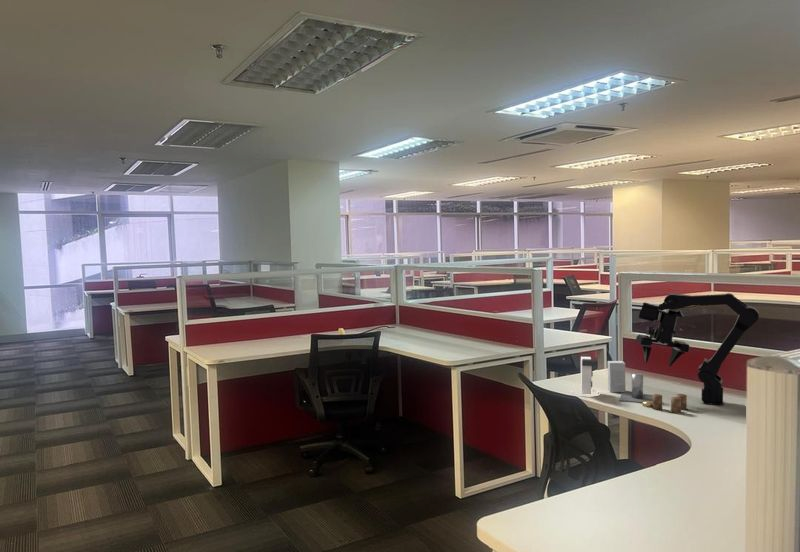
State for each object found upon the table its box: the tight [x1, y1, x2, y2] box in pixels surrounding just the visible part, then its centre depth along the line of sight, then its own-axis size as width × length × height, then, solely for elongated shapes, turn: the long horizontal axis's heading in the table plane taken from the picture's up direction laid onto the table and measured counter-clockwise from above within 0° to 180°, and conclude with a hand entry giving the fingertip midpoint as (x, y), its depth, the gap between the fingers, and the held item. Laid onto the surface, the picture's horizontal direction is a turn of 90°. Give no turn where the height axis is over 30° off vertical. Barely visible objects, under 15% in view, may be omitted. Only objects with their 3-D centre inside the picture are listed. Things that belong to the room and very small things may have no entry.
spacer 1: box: [652, 393, 663, 411], centre depth 208 cm, size 3×3×5 cm
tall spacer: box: [631, 372, 644, 399], centre depth 221 cm, size 4×4×9 cm
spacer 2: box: [670, 396, 682, 414], centre depth 203 cm, size 3×3×5 cm
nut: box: [642, 401, 653, 408], centre depth 212 cm, size 4×4×2 cm
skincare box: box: [607, 360, 626, 393], centre depth 233 cm, size 6×4×12 cm
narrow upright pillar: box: [570, 353, 601, 394], centre depth 230 cm, size 12×11×15 cm
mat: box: [619, 391, 653, 404], centre depth 221 cm, size 12×12×1 cm
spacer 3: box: [676, 393, 688, 411], centre depth 207 cm, size 3×3×5 cm
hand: (657, 364), depth 223 cm, fingers open, 9 cm apart
